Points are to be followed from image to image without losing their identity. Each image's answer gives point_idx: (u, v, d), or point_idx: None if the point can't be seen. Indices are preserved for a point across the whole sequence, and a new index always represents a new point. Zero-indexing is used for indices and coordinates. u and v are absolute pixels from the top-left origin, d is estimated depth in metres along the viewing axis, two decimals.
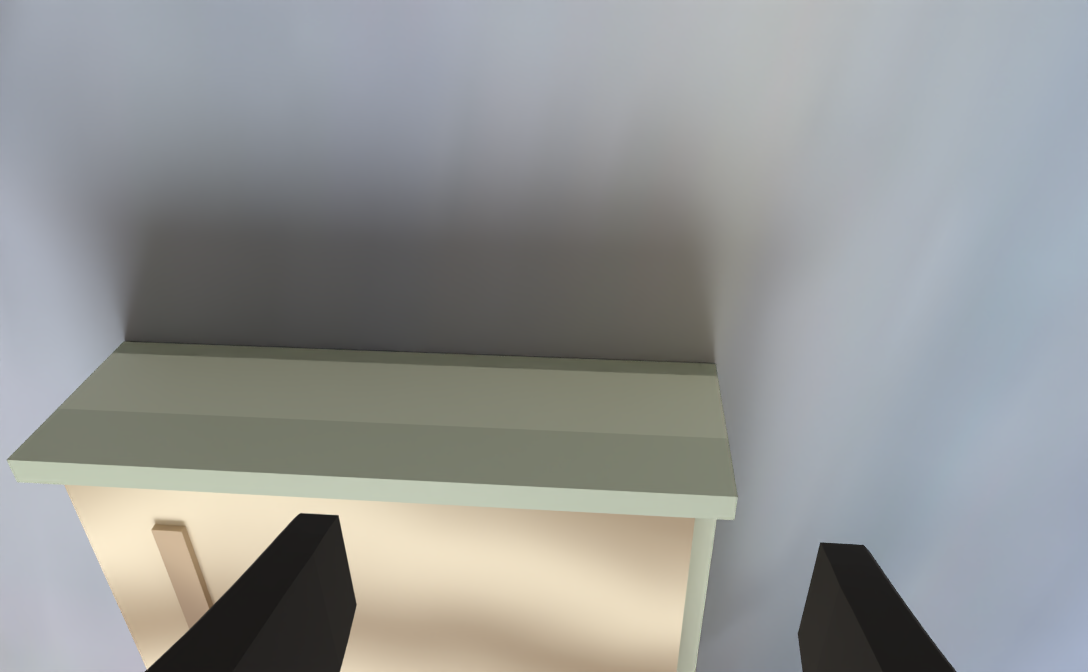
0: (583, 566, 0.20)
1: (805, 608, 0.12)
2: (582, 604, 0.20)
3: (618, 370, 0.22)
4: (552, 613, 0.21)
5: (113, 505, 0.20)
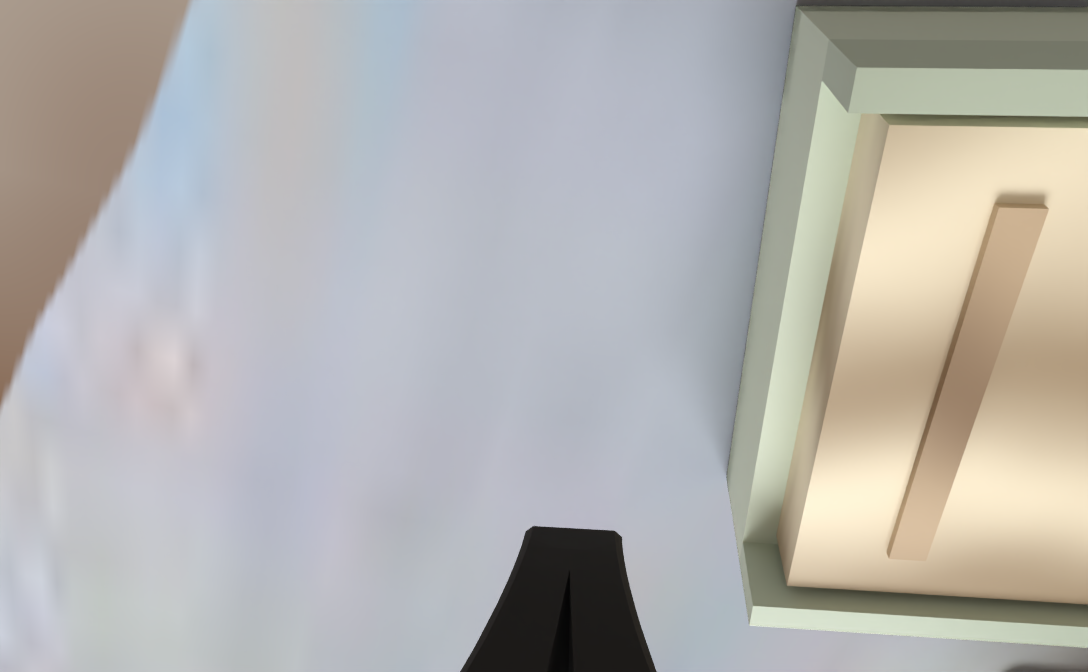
0: None
1: None
2: None
3: None
4: None
5: (946, 169, 0.13)
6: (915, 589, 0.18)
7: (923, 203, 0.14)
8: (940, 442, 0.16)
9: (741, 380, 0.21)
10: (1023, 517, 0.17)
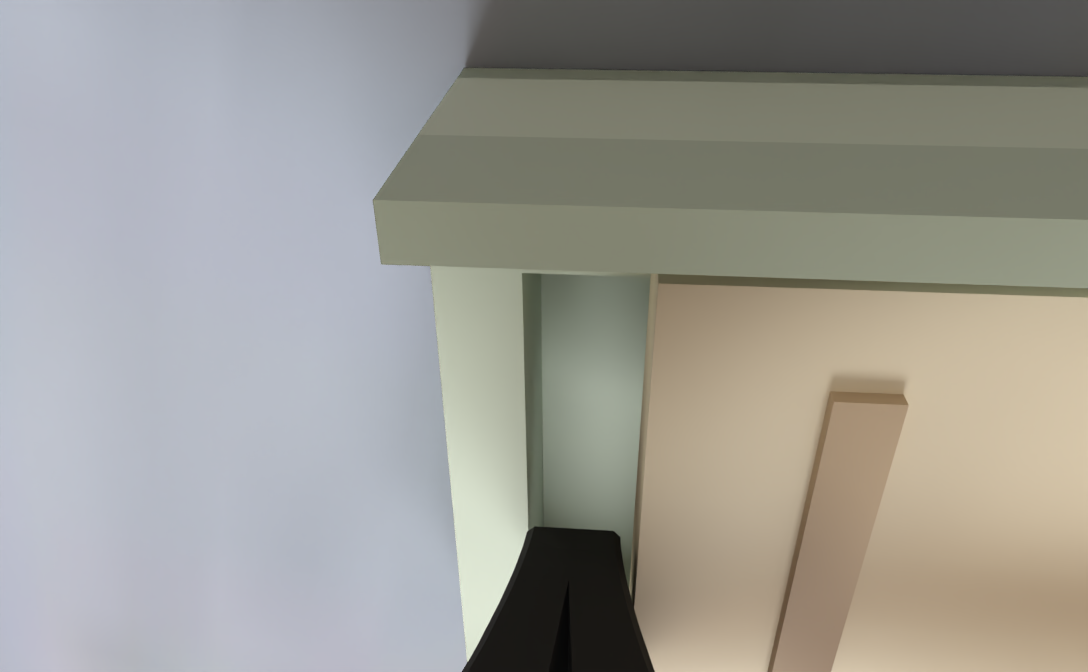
0: None
1: None
2: None
3: None
4: None
5: (753, 344, 0.09)
6: None
7: (726, 389, 0.09)
8: None
9: None
10: None
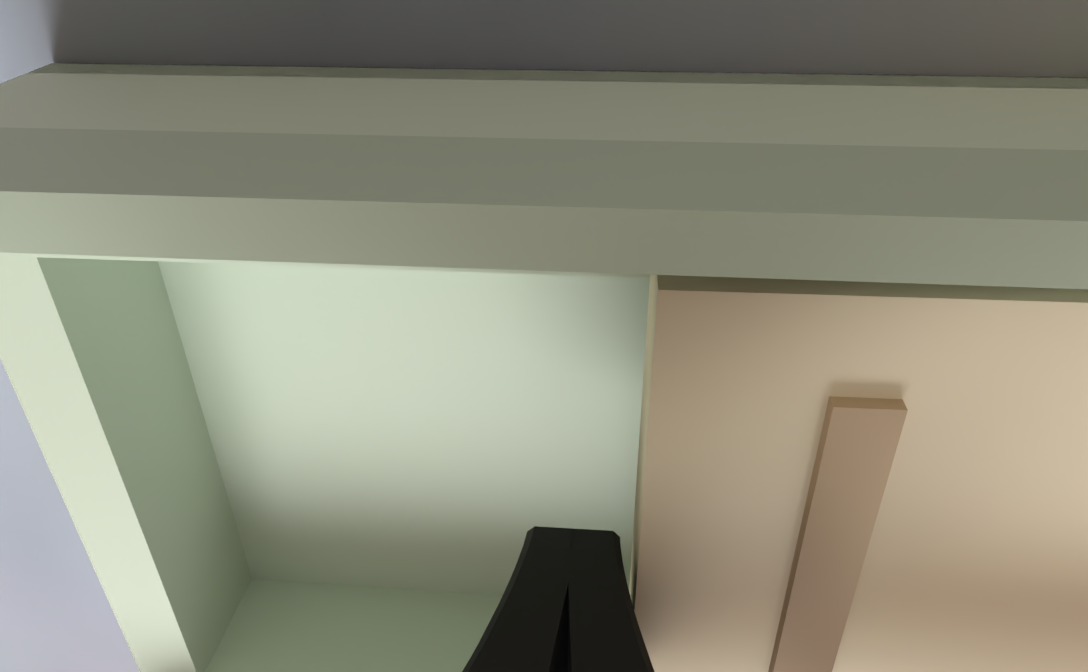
0: None
1: None
2: None
3: (1001, 86, 0.11)
4: None
5: (753, 350, 0.09)
6: None
7: (725, 394, 0.09)
8: None
9: None
10: None
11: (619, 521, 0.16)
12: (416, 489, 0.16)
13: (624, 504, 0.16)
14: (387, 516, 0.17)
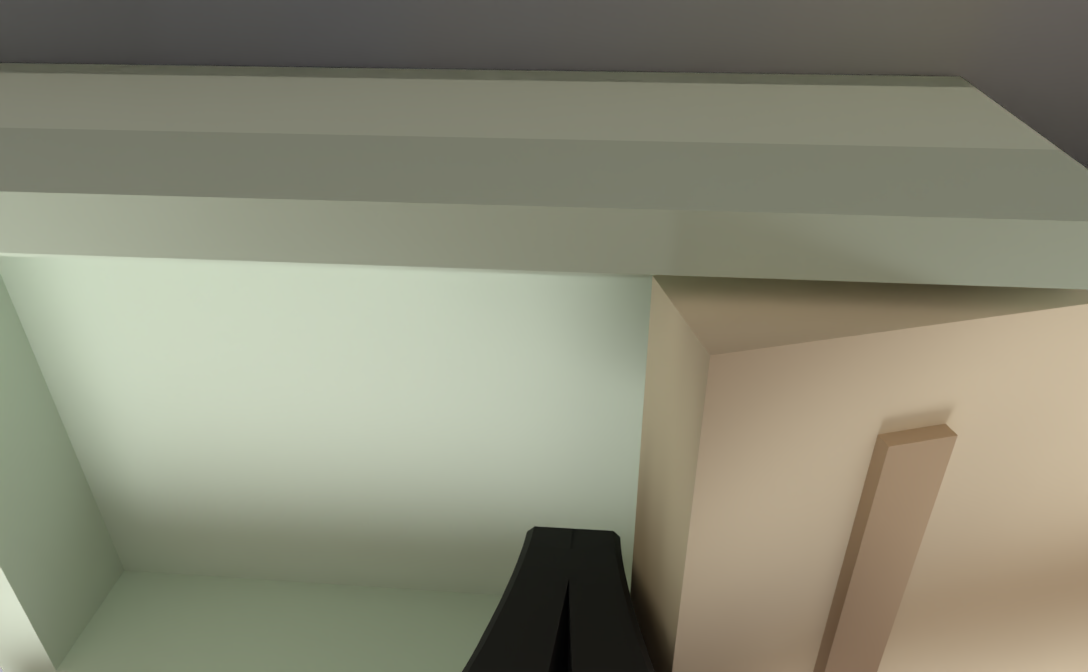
0: None
1: None
2: None
3: (780, 83, 0.11)
4: None
5: (805, 402, 0.08)
6: None
7: (775, 453, 0.08)
8: None
9: None
10: None
11: (471, 512, 0.16)
12: (271, 481, 0.16)
13: (473, 496, 0.16)
14: (247, 508, 0.17)
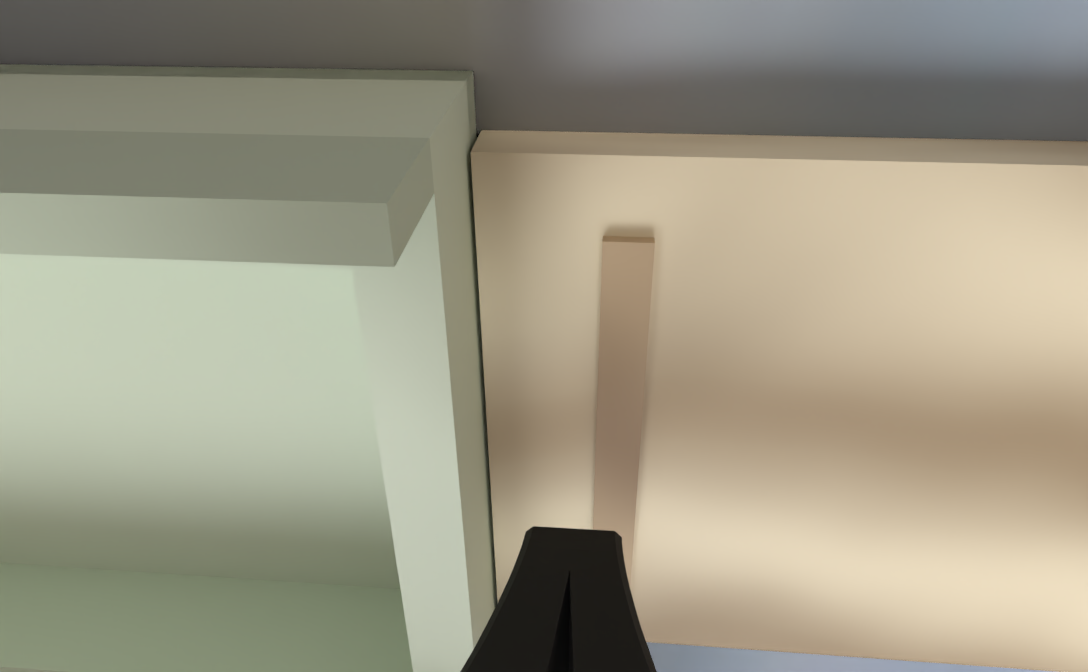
0: None
1: None
2: None
3: (294, 77, 0.12)
4: None
5: (543, 199, 0.12)
6: None
7: (529, 235, 0.12)
8: (609, 487, 0.15)
9: None
10: (720, 564, 0.16)
11: (137, 494, 0.17)
12: None
13: (134, 477, 0.17)
14: None
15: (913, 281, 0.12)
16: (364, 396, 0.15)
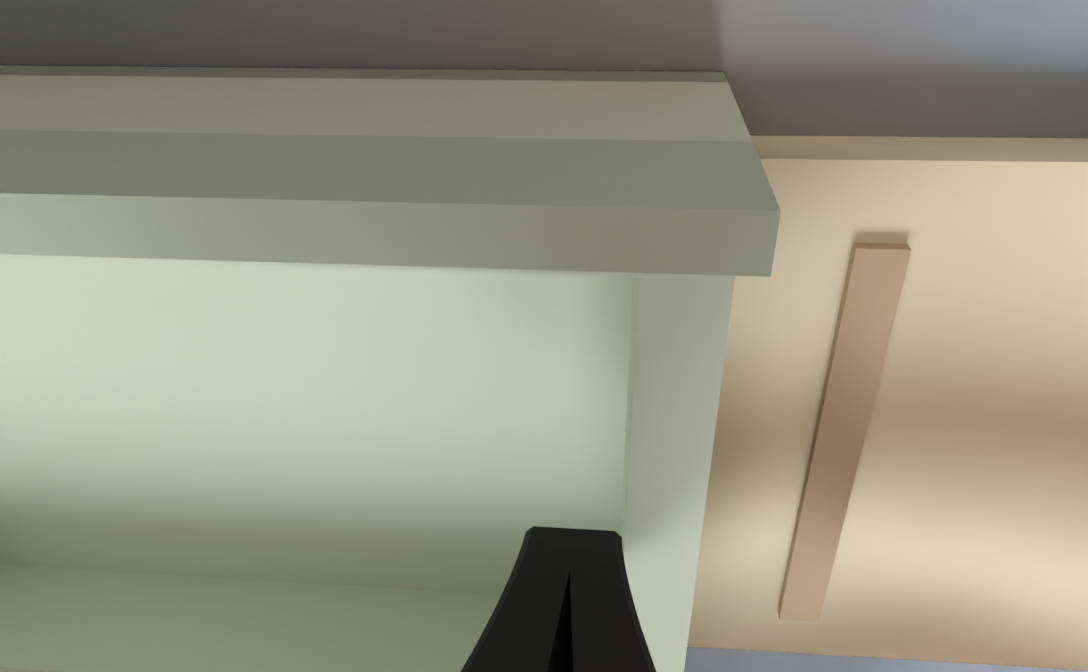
0: None
1: None
2: None
3: (544, 79, 0.12)
4: None
5: (796, 206, 0.12)
6: (813, 649, 0.17)
7: None
8: (820, 498, 0.15)
9: None
10: (919, 575, 0.16)
11: (313, 504, 0.17)
12: (117, 473, 0.17)
13: (313, 487, 0.16)
14: (97, 499, 0.17)
15: None
16: (566, 404, 0.15)
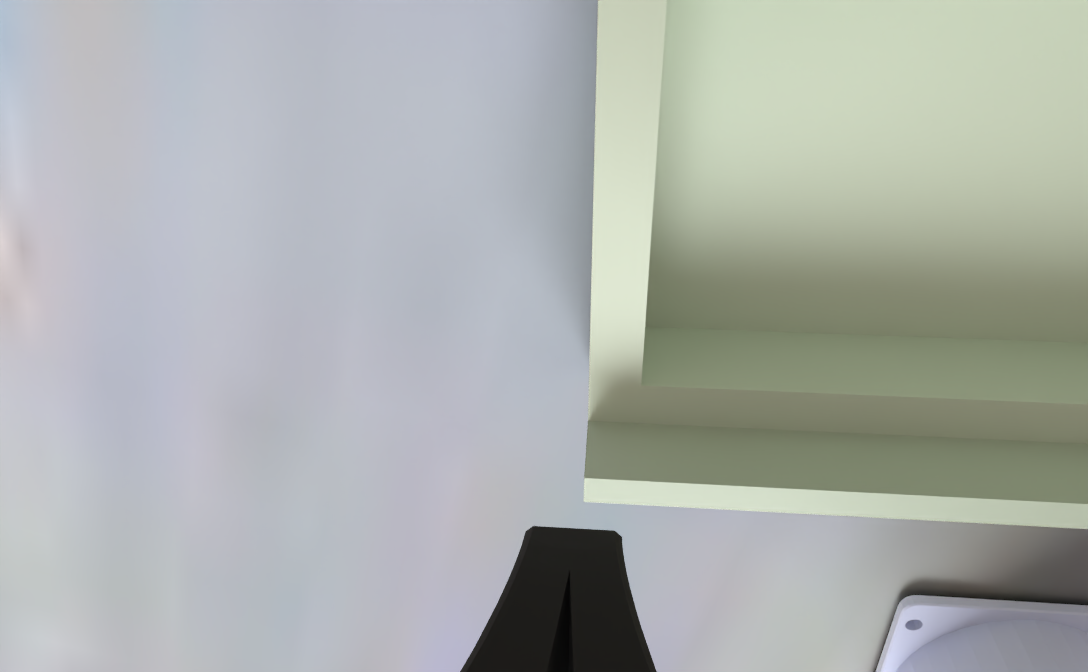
0: None
1: None
2: None
3: None
4: None
5: None
6: None
7: None
8: None
9: None
10: None
11: (1000, 249, 0.19)
12: (822, 222, 0.19)
13: (1009, 230, 0.18)
14: (786, 252, 0.19)
15: None
16: None
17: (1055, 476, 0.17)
